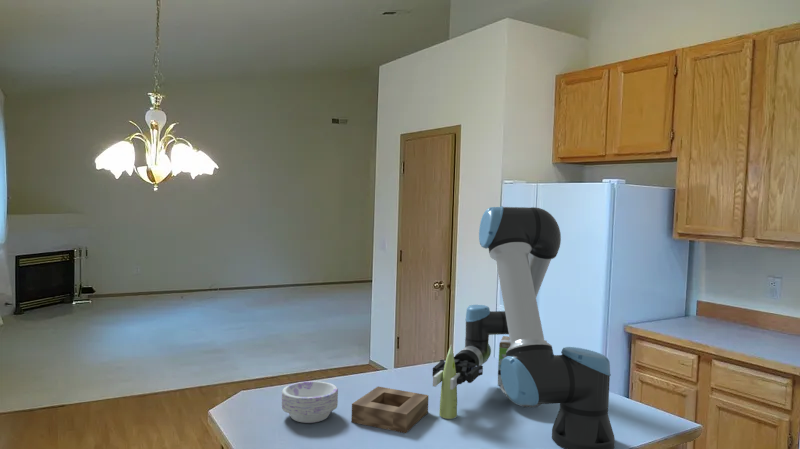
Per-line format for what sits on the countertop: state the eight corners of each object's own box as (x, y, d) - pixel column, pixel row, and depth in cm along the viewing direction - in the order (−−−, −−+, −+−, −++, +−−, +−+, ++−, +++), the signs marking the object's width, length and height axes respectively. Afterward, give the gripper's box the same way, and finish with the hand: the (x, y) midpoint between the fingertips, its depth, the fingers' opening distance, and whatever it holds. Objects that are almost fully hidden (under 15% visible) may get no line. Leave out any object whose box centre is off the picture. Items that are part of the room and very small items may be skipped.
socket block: (427, 412, 157) (428, 395, 157) (406, 433, 142) (406, 414, 142) (377, 403, 163) (377, 386, 163) (351, 422, 149) (351, 403, 149)
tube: (462, 418, 154) (464, 348, 153) (447, 421, 151) (449, 350, 150) (449, 411, 158) (451, 343, 158) (435, 414, 155) (437, 346, 155)
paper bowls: (306, 403, 162) (306, 376, 162) (348, 414, 154) (348, 386, 154) (269, 419, 149) (269, 390, 149) (313, 433, 141) (313, 402, 141)
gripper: (494, 377, 167) (473, 402, 146) (440, 369, 174) (412, 391, 153) (495, 352, 167) (474, 374, 146) (441, 345, 174) (413, 364, 153)
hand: (442, 382), depth 149 cm, fingers closed on tube, 4 cm apart
